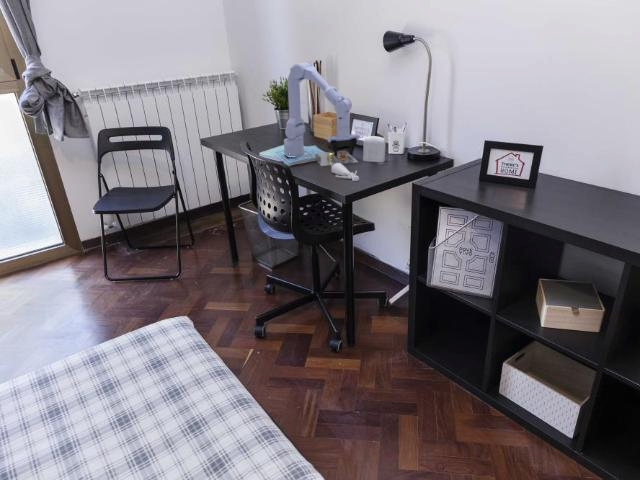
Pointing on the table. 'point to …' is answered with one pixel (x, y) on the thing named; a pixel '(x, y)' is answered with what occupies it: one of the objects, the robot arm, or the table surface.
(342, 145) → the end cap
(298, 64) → the robot arm
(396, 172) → the table surface
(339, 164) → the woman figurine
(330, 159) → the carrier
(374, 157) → the photo printer
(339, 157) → the gear
